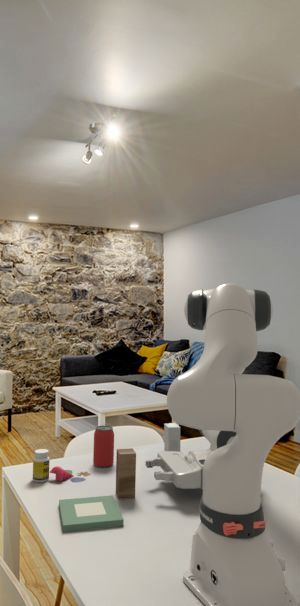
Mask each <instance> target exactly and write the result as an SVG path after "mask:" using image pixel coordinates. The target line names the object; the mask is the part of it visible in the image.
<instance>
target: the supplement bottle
mask: <svg viewBox="0 0 300 606" xmlns="http://www.w3.org/2000/svg"><path fill="white" fill-rule="evenodd" d="M49 452H50V451H49V449H46V448H39V449H35V450H34V457H33V459H32V460H33V461H32V481H33V482H36V483H45V482H47V481H49V479H50V460H51V459H50V457H49Z"/></svg>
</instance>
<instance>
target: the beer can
mask: <svg viewBox="0 0 300 606" xmlns="http://www.w3.org/2000/svg"><path fill="white" fill-rule="evenodd" d="M93 433H94V434H93V455H92V458H93V461H92V462H93V465H94V466H95V467H97V468H109V467H111V466H113V464H114V460H115V459H114V458H115V455H114V454H115V452H114V451H115V432H114V428H113V427H112V425H111V426H110V425H97V426H96V427H95V430H94V432H93Z"/></svg>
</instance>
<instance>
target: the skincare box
mask: <svg viewBox="0 0 300 606" xmlns="http://www.w3.org/2000/svg"><path fill="white" fill-rule="evenodd" d="M163 425H164V426H163V432H164V433H163V436H164V437H163V439H164V440H163V443H164V451H178V452H181V426H179V424H177V423H176V422H169V423H167V422H166V423H163Z"/></svg>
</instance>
